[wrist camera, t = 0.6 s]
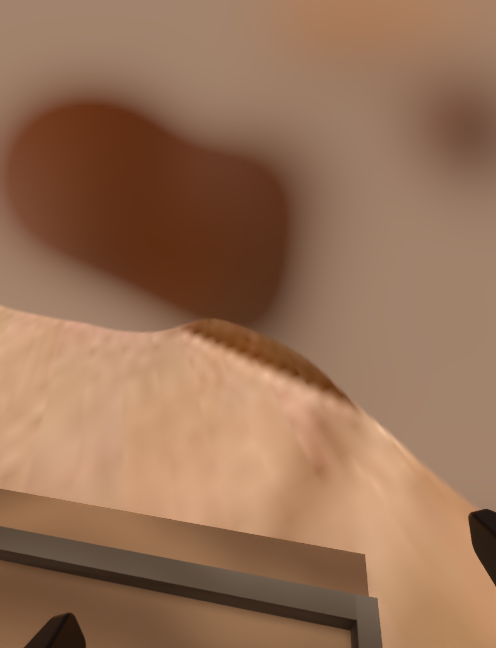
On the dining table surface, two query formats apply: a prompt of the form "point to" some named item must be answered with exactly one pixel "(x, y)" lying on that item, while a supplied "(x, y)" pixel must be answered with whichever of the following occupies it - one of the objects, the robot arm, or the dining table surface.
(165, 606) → the track board
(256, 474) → the dining table surface
